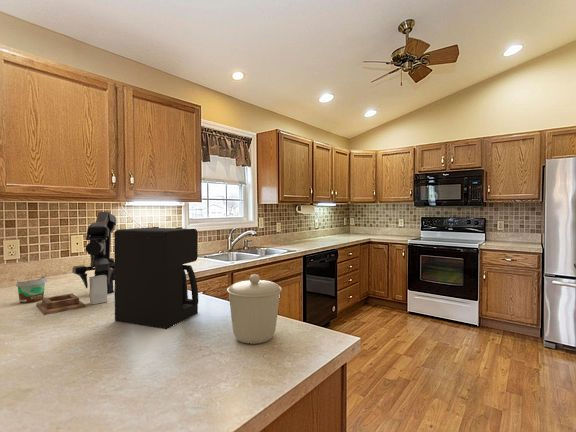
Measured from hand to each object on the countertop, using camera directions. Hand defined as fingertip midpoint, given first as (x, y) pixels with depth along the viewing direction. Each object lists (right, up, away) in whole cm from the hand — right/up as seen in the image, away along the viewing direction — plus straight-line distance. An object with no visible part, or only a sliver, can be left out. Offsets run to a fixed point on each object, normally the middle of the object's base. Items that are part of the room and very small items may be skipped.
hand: (98, 286), depth 142 cm
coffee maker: (+37, -8, -19) cm, 42 cm away
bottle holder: (-13, -7, -5) cm, 16 cm away
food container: (-30, -7, +2) cm, 32 cm away
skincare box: (0, -8, 0) cm, 8 cm away
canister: (+75, -9, -38) cm, 85 cm away
